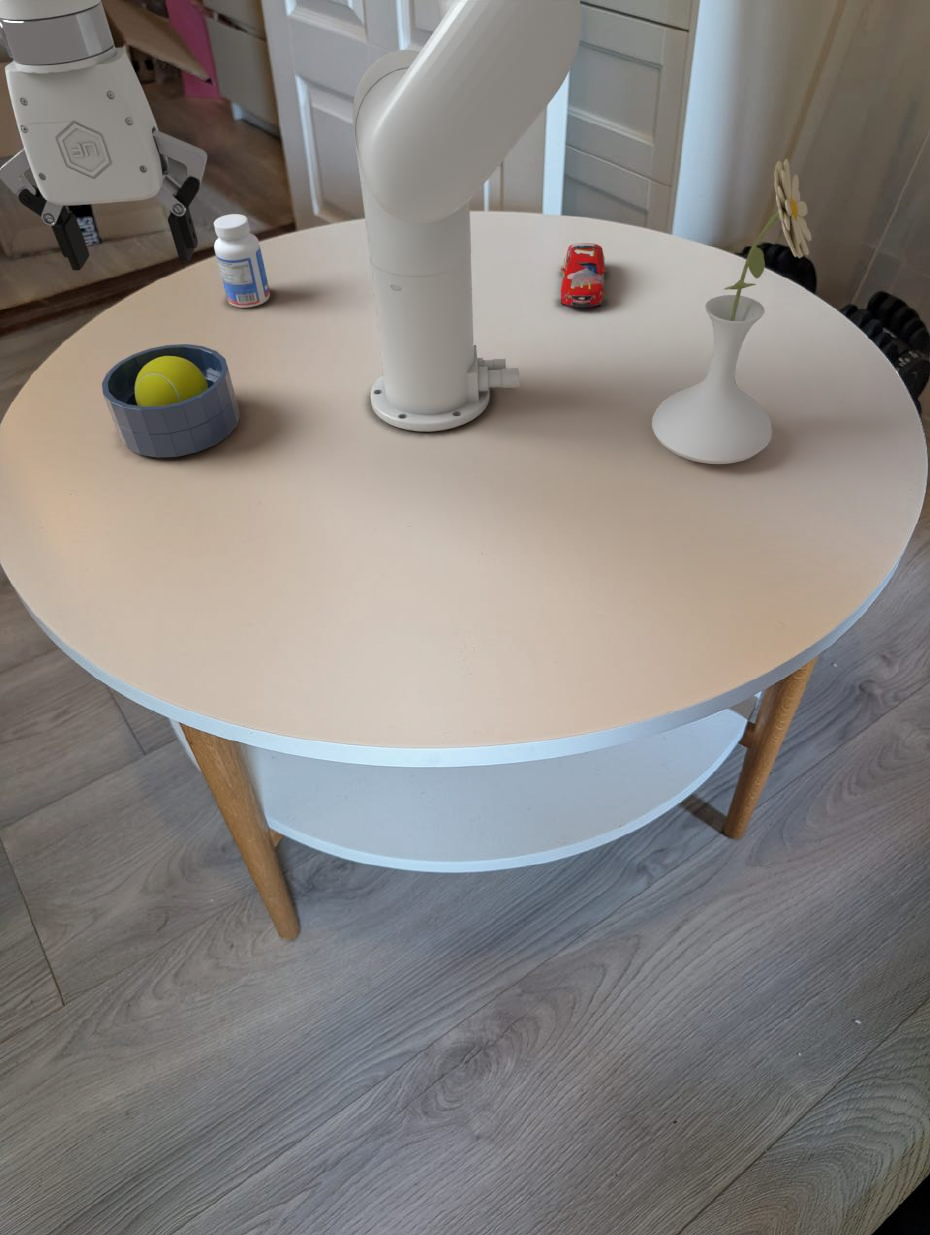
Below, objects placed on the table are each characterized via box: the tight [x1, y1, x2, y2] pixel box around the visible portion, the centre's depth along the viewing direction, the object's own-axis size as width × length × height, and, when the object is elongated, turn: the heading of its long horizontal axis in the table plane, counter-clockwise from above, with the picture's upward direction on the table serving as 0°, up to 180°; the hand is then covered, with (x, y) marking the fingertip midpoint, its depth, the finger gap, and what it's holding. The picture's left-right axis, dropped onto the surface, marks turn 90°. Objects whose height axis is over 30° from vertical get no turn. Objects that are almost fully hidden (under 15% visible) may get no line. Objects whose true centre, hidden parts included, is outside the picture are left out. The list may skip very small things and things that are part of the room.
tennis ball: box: [135, 356, 208, 407], centre depth 88 cm, size 7×7×7 cm
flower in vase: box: [651, 158, 812, 465], centre depth 77 cm, size 13×11×25 cm
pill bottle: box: [213, 213, 271, 309], centre depth 107 cm, size 6×5×10 cm
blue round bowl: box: [101, 343, 241, 459], centre depth 89 cm, size 12×12×6 cm
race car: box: [560, 242, 607, 308], centre depth 108 cm, size 13×5×4 cm, turn 171°
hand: (134, 260), depth 78 cm, fingers open, 9 cm apart
